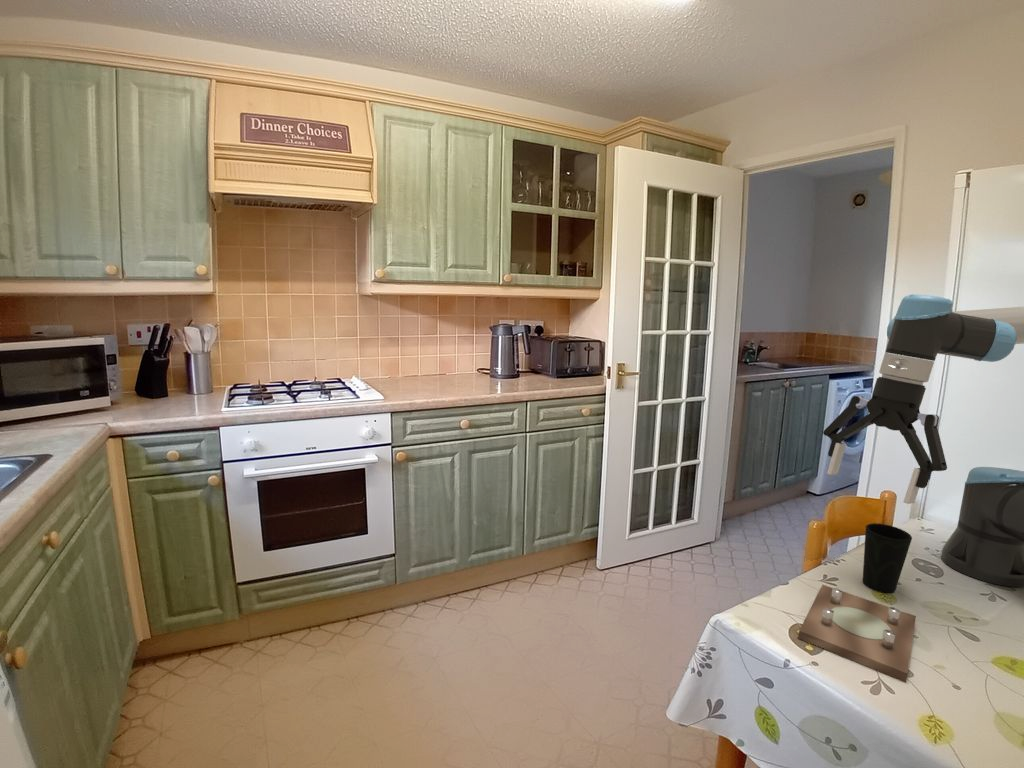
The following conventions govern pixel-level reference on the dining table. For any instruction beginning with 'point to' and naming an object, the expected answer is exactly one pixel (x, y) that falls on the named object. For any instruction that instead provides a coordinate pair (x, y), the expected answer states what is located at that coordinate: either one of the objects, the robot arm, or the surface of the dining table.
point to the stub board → (860, 631)
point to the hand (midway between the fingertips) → (868, 487)
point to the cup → (884, 556)
